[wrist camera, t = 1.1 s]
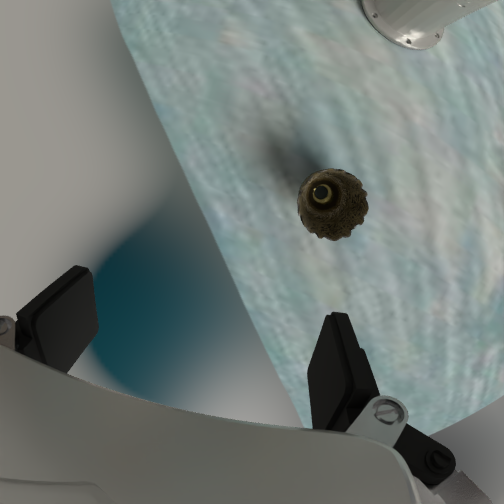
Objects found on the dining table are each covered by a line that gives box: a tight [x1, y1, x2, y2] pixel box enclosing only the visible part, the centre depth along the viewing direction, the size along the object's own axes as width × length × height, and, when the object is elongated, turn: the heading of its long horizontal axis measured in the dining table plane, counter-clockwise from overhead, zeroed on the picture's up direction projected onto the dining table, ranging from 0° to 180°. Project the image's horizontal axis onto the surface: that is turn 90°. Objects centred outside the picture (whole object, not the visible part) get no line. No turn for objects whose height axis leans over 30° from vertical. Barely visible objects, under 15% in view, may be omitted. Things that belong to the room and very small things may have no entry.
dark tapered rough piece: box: [297, 168, 369, 241], centre depth 33 cm, size 8×7×8 cm
